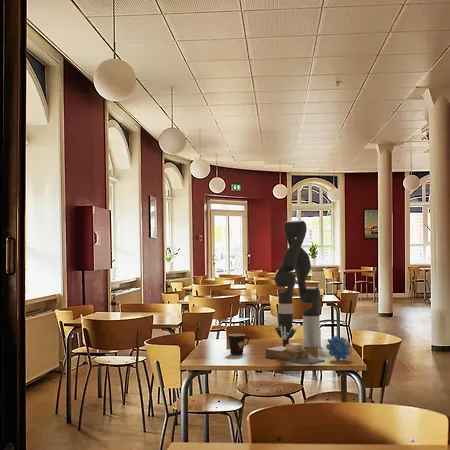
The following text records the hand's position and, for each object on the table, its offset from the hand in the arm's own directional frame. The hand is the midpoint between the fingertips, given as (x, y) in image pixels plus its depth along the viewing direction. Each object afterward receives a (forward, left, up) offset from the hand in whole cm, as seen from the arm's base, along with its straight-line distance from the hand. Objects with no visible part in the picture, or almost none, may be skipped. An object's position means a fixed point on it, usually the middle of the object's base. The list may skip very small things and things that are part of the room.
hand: (285, 346), depth 318 cm
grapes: (-12, +24, -6) cm, 27 cm away
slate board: (+1, +15, -5) cm, 16 cm away
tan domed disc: (0, +6, -1) cm, 6 cm away
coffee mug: (+10, -23, -6) cm, 26 cm away
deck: (0, +1, -5) cm, 5 cm away
